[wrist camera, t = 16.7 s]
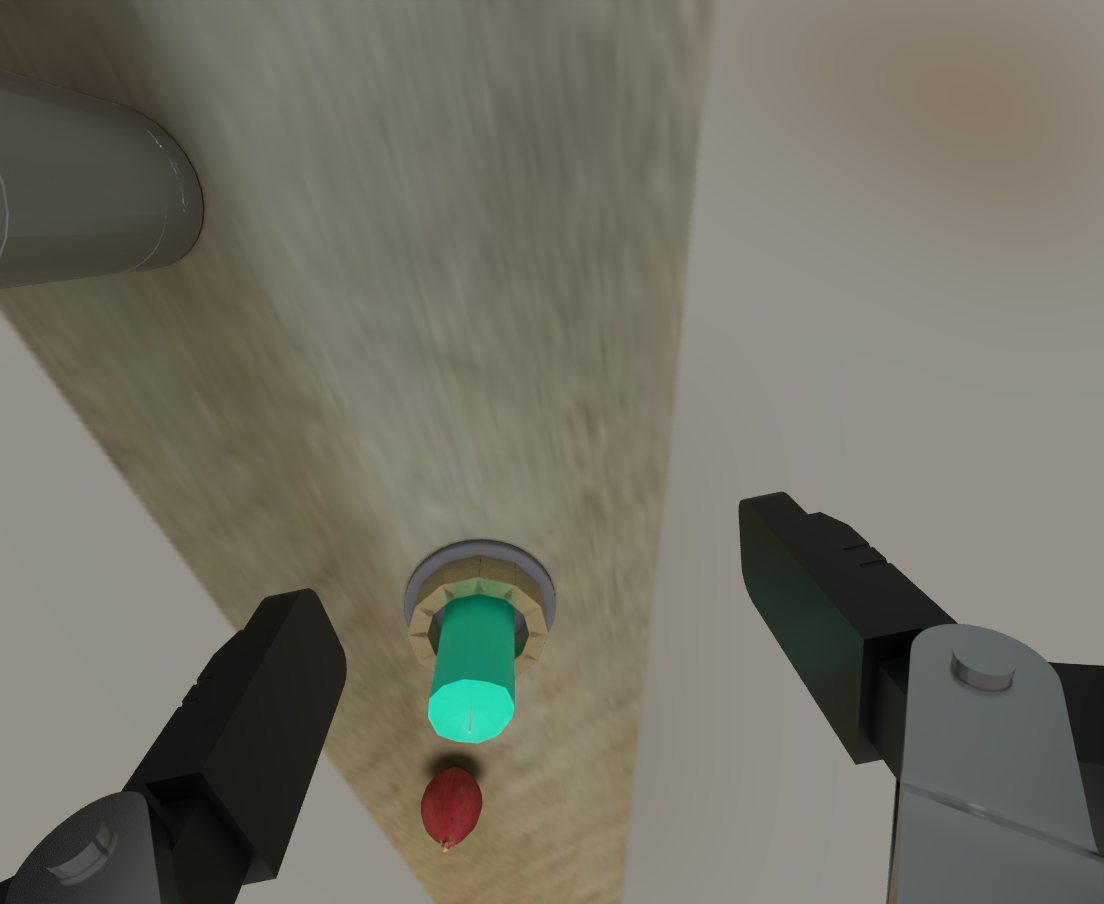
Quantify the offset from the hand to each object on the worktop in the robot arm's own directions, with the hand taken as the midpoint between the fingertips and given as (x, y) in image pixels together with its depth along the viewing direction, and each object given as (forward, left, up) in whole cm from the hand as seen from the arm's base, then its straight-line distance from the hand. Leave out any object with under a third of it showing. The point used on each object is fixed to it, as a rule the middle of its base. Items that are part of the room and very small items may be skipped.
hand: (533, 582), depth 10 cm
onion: (-17, -43, -30) cm, 55 cm away
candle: (-9, -23, -29) cm, 38 cm away
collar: (-9, -23, -30) cm, 39 cm away
